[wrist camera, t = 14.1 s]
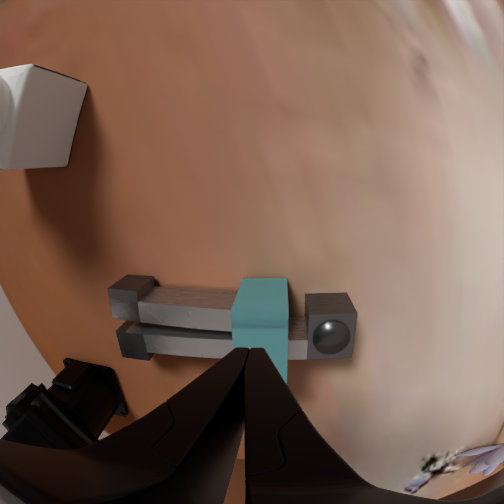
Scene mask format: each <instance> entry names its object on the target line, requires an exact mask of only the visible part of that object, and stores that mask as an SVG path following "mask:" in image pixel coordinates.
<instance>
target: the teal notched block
mask: <svg viewBox="0 0 504 504" xmlns="http://www.w3.org/2000/svg"><path fill="white" fill-rule="evenodd" d="M230 315H231V327H232V340H233V349H234V348H236V347H248V348H249V349H250V348H252V347H254V348H264V349H265V350H266V352H267V353H268V355H269V357H270V358H271V360H272V362H273V363H274V365H275V367H276V368H277V370H278V371H279V373H280V375H281V376H282V378H283V380H284V381H285V383H286V384H287V362H288V289H287V278H243V279H242V282H241V285H240V287H239V290H238V292H237V295H236V298H235V300H234V303H233V306H232V308H231V311H230Z"/></svg>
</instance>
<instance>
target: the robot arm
mask: <svg viewBox="0 0 504 504" xmlns="http://www.w3.org/2000/svg"><path fill="white" fill-rule="evenodd" d="M63 363H64V365H65V368H64V369H63V370H62V371H61V372H60V373H59V374H58V375H57V376H56V377H55V378H54V379H53V381H52V384H53V385H52V386H51V387H50V388H49V389H48V390H47V389H46V387H45V386H44V385H43V384H42V383H41V384H40V385H39V386H36V385H34V384H32V383H31V384H30V385H29V386H28V387H27V388H26V389H25V390H24V391H23V392H22V393H21V394H20V395H18V396H17V397H16V398H15V399H14V400H12V401H11V402H10V403H9V404H8V405H7V406H6V412H7V415H6V416H5V418H6V420H5V421H4V422H3V423H2V425H3V426H4V427H5V428H6V429H7V430H8V432H7V433H6V434H5V435H4V436H3V437H2V438H1V439H0V504H223V503H224V500H225V497H226V493H227V489H228V486H229V483H230V479H231V475H232V472H233V468H234V464H235V461H236V457H237V453H238V450H239V446H240V442H241V438H242V435H243V431H244V429H245V477H246V480H245V483H246V496H245V504H504V485H502V486H499V487H497V488H495V489H493V490H491V491H490V492H487V493H486V494H483V495H481V496H478V497H476V498H472V499H467V500H462V501H443V500H436V499H429V498H423V497H418V496H413V495H408V494H403V493H398V492H394V491H390V490H386V489H382V488H378V487H376V486H374V485H372V484H370V483H368V482H367V481H365V480H364V479H363V478H361V477H360V476H359V475H358V474H357V473H356V472H355V471H354V470H353V469H352V468H351V467H350V466H349V465H348V464H347V463H346V462H345V461H344V460H343V459H342V458H341V457H340V456H339V455H338V454H337V453H336V452H335V450H334V449H333V448H332V447H331V446H330V445H329V444H328V443H327V442H326V441H325V440H324V438H323V437H322V436H321V435H320V434H319V433H318V431H317V430H316V429H315V427H314V426H313V425H312V423H311V422H310V420H309V419H308V417H307V416H306V414H305V413H304V411H302V408H301V407H300V405H299V403H298V402H297V400H296V399H295V397H294V396H293V394H292V392H291V391H290V389H289V388H288V386H287V384H286V383H285V381H284V380H283V378H282V376H281V375H280V373H279V371H278V370H277V368H276V367H275V365H274V363H273V362H272V360H271V358H270V357H269V355H268V353H267V352H266V350H265V349H264V348H254V347H252V348H250V349H249V348H248V347H236V348H234V349H233V350H232V351H230V352H229V353H228V354H227V355H225V356H224V357H223V358H222V359H220V360H219V361H218V362H217V363H215V364H214V365H213V366H212V367H210V368H209V369H208V370H206V371H205V372H204V373H203V374H201V375H200V376H199V377H197V378H196V379H195V380H193V381H192V382H191V383H189V384H188V385H187V386H186V387H184V388H183V389H182V390H180V391H179V392H178V393H176V394H175V395H173V396H172V397H171V398H169V399H168V400H167V401H166V402H164V403H162V404H161V405H160V406H158V407H157V408H155V409H154V410H152V411H151V412H149V413H148V414H146V415H145V416H143V417H142V418H140V419H139V420H137V421H135V422H133V423H132V424H130V425H128V426H126V427H124V428H123V429H121V430H119V431H117V432H115V433H113V434H111V435H109V436H107V437H105V438H103V439H101V440H98V437H99V436H100V435H101V433H102V431H103V430H104V428H105V427H106V425H107V424H108V422H109V421H110V419H111V418H112V416H113V415H114V414H116V415H120V416H125V417H126V416H127V415H128V410H127V407H126V405H125V402H124V400H123V397H122V394H121V392H120V389H119V386H118V383H117V380H116V378H115V375H114V372H113V370H112V369H111V368H110V367H107V366H101V365H97V364H92V363H87V362H83V361H78V360H74V359H70V358H65V359H64V360H63Z"/></svg>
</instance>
